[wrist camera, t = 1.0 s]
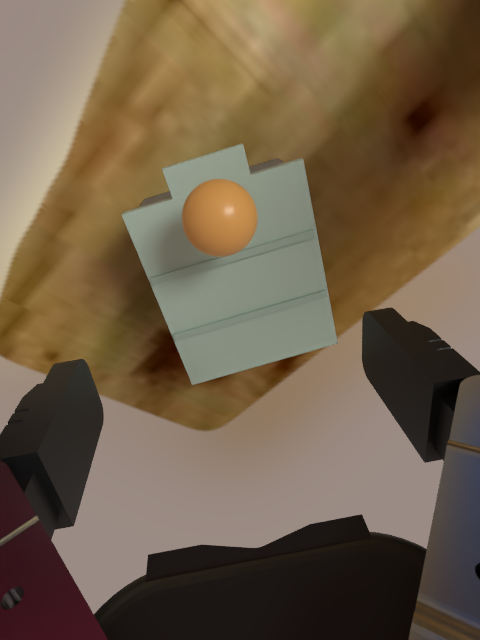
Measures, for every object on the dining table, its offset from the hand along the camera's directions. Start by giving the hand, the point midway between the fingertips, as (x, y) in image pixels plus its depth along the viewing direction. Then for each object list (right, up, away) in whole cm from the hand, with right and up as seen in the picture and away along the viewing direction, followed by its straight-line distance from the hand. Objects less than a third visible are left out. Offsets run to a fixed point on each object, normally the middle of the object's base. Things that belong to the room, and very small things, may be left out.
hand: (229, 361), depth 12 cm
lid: (0, +5, +16) cm, 17 cm away
